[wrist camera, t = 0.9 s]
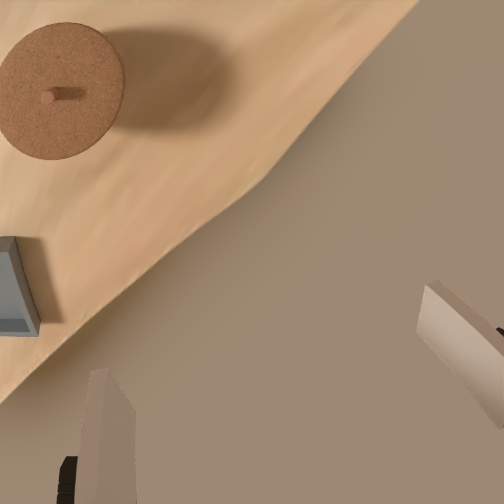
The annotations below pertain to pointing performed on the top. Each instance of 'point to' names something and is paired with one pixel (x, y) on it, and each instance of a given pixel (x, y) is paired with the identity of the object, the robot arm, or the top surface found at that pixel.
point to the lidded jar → (60, 90)
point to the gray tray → (15, 294)
